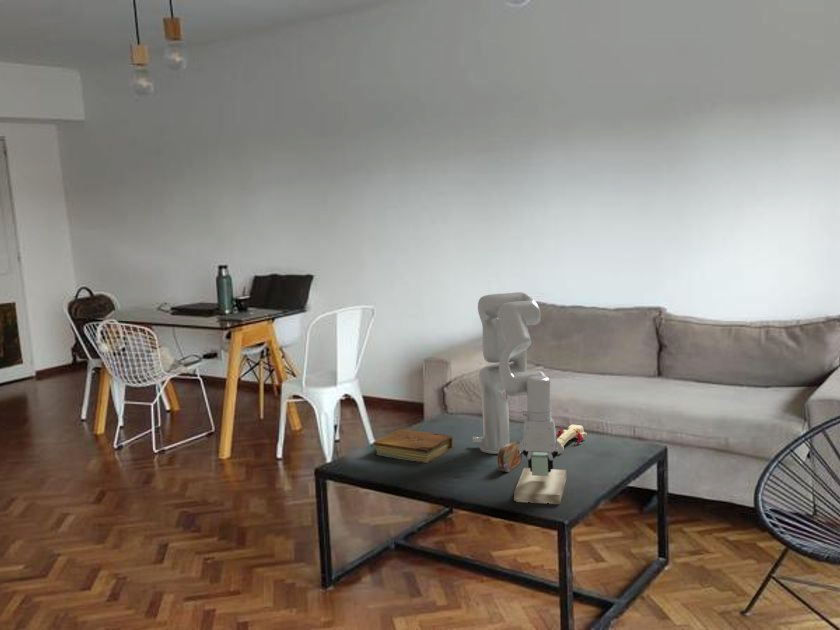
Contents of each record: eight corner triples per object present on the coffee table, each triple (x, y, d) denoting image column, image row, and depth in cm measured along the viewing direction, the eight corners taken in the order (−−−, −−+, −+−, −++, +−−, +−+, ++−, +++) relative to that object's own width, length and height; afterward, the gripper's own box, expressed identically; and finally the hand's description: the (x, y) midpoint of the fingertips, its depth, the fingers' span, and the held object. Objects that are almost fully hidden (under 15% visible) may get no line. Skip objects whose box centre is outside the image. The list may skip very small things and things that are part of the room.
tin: (504, 475, 276) (504, 451, 274) (496, 474, 277) (495, 450, 276) (523, 461, 288) (522, 438, 287) (515, 460, 290) (514, 437, 288)
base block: (514, 501, 253) (513, 492, 252) (524, 476, 273) (524, 467, 273) (559, 504, 249) (559, 494, 248) (566, 478, 270) (566, 469, 269)
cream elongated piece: (566, 459, 292) (592, 434, 312) (565, 436, 290) (591, 413, 310) (541, 455, 297) (568, 431, 318) (539, 433, 295) (566, 410, 316)
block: (532, 475, 258) (531, 457, 258) (534, 470, 263) (533, 452, 262) (547, 476, 257) (547, 457, 256) (549, 470, 262) (549, 452, 261)
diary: (453, 450, 306) (452, 435, 305) (427, 465, 290) (426, 450, 290) (401, 442, 318) (400, 427, 317) (374, 456, 302) (373, 441, 301)
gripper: (510, 417, 256) (512, 473, 259) (565, 419, 251) (566, 476, 254) (514, 411, 263) (516, 465, 266) (567, 412, 259) (568, 467, 261)
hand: (540, 470), depth 260 cm, fingers closed on block, 5 cm apart
